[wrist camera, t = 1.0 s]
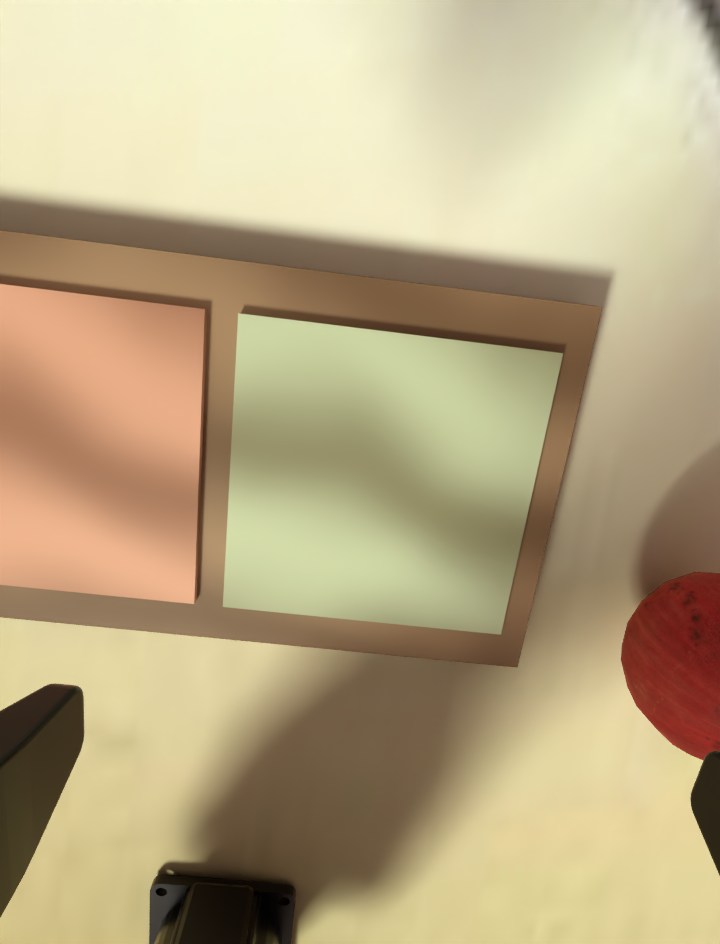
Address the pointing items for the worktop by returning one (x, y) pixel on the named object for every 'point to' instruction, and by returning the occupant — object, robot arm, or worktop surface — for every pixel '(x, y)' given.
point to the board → (278, 450)
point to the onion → (678, 661)
